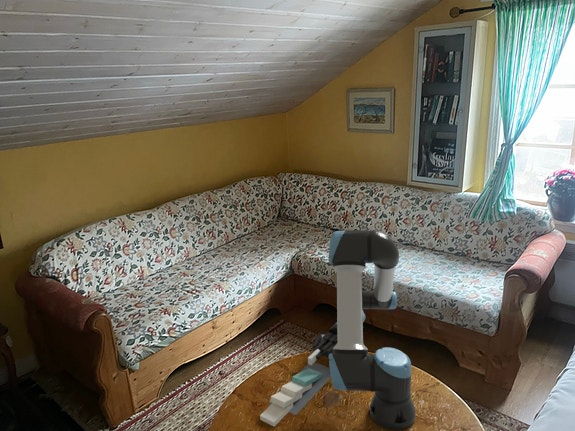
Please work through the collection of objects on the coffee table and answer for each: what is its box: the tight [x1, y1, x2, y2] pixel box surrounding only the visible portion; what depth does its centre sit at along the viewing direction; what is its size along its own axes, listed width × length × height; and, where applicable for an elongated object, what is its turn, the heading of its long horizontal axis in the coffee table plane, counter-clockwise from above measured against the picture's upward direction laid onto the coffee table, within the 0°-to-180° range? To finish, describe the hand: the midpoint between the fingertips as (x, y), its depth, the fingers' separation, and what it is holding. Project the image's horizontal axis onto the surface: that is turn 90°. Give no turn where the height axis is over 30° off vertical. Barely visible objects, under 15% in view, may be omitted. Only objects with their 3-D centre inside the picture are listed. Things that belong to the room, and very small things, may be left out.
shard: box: [322, 388, 344, 408], centre depth 164 cm, size 11×8×2 cm
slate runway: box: [268, 361, 331, 416], centre depth 172 cm, size 12×28×1 cm, turn 144°
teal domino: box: [291, 368, 322, 387], centre depth 173 cm, size 6×2×11 cm
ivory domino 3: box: [280, 380, 312, 397], centre depth 168 cm, size 6×2×11 cm
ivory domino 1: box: [269, 390, 303, 407], centre depth 163 cm, size 6×2×11 cm
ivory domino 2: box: [259, 403, 293, 427], centre depth 159 cm, size 6×2×11 cm
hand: (309, 361), depth 173 cm, fingers closed
